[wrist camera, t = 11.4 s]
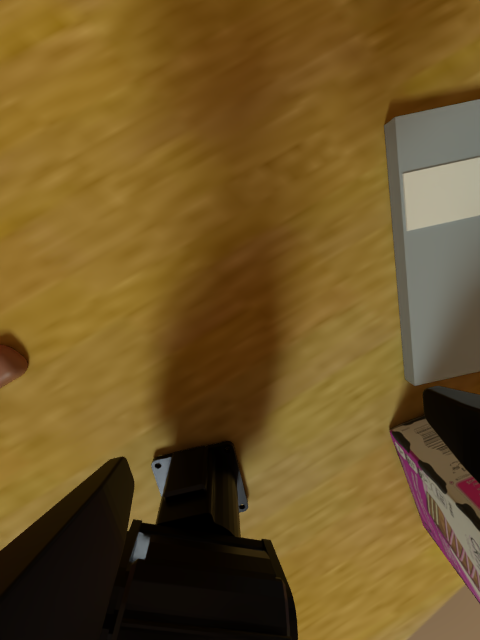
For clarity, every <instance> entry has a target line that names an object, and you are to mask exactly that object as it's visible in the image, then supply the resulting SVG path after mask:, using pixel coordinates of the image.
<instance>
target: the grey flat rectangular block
mask: <svg viewBox="0 0 480 640" xmlns="http://www.w3.org/2000/svg"><path fill="white" fill-rule="evenodd" d="M384 129H385V141H386V153H387V165H388V178H389V190H390V202H391V214H392V226H393V239H394V251H395V263H396V275H397V287H398V300H399V312H400V324H401V336H402V348H403V361H404V373H405V379H406V380H407V381H408V382H410V383H411V384H413V385H414V386H417V385H421V384H426V383H430V382H434V381H439V380H443V379H448V378H452V377H457V376H461V375H466V374H470V373H474V372H479V371H480V99H478V100H473V101H469V102H464V103H459V104H454V105H450V106H445V107H440V108H436V109H431V110H426V111H421V112H417V113H412V114H407V115H403V116H398V117H394V118H393V119H392V120H391V121H389V122H388V123H387V124H385V125H384Z"/></svg>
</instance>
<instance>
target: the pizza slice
mask: <svg viewBox="0 0 480 640" xmlns="http://www.w3.org/2000/svg"><path fill="white" fill-rule="evenodd" d="M27 367H28V364H27V361H26V359H25V358H24V357H23V356H22V355H21V354H19V353H18V352H17V351H15V350H14V349H12V348H10V347H8V346H5V345H1V344H0V388H1V387H3V386H5V385H7V384H8V383H10V382H12V381H13V380H15V379H17V378H18V377H20V376H21V375H23V374H24V373H25V372H26V370H27Z"/></svg>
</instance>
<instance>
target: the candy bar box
mask: <svg viewBox="0 0 480 640" xmlns="http://www.w3.org/2000/svg"><path fill="white" fill-rule="evenodd" d="M390 434H391V437H392V440H393V443H394V445H395V448H396V451H397V453H398V456H399V459H400V461H401V464H402V467H403V469H404V472H405V475H406V478H407V481H408V483H409V486H410V489H411V492H412V494H413V497H414V500H415V503H416V506H417V509H418V511H419V514H420V517H421V520H422V523H423V526H424V527H425V529H426V530H427V531H428V533H429V534H430V536H431V537H432V538H433V540H434V541H435V542H436V544H437V545H438V547H439V548H440V549H441V551H442V552H443V553H444V555H445V556H446V558H447V559H448V560H449V562H450V563H451V565H452V566H453V567H454V569H455V570H456V571H457V573H458V574H459V576H460V577H461V578H462V580H463V581H464V582H465V584H466V585H467V587H468V588H469V589H470V591H471V592H472V594H473V595H474V596H475V598H476V599H477V600H478V602H479V603H480V484H479V483H478V482H477V481H476V480H475V479H474V478H473V476H472V475H471V474H470V473H469V472H468V471H467V470H466V469H465V468H464V467H463V466H462V464H461V463H460V462H459V461H458V460H457V458H456V457H455V456H454V455H453V453H452V452H451V451H450V450H449V448H448V447H447V446H446V445H445V443H444V442H443V441H442V440H441V438H440V437H439V436H438V435H437V433H436V432H435V431H434V430H433V428H432V427H431V426H430V424H429V423H428V422H427V420H426V418H425V415H424V416H421V417H419V418H416V419H414V420H411V421H409V422H406V423H403V424H400V425H398V426H396V427H394V428H392V429H390Z"/></svg>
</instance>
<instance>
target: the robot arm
mask: <svg viewBox="0 0 480 640" xmlns="http://www.w3.org/2000/svg"><path fill="white" fill-rule="evenodd" d="M423 406H424V415H425V418H426V420H427V422H428V423H429V424H430V426H431V427H432V428H433V430H434V431H435V432H436V433H437V435H438V436H439V437H440V438H441V440H442V441H443V442H444V443H445V445H446V446H447V447H448V448H449V450H450V451H451V452H452V453H453V455H454V456H455V457H456V458H457V460H458V461H459V462H460V463H461V464H462V466H463V467H464V468H465V469H466V470H467V471H468V472H469V473H470V474H471V475H472V476H473V478H474V479H475V480H476V481H477V482H478V483H479V484H480V395H478V394H473V393H469V392H464V391H460V390H455V389H450V388H446V387H441V386H435V387H431V388H426V389H425V390H424V391H423ZM226 447H229V448H230V449H228V450H227V449H225V448H226ZM156 463H160V464H161V465H157V464H156ZM152 470H153V473H154V476H155V479H156V482H157V485H158V488H159V491H160V494H161V497H162V499H161V503H160V507H159V511H158V515H157V520H156V524H155V525H154V524H148V523H142V521H141V520H135V519H133V522H132V524H131V527H130V530H129V531H127V528H128V522H129V516H130V510H131V504H132V498H133V492H134V479H133V476H132V473H131V470H130V467H129V464H128V462H127V459H126V458H125V457H118V458H113V459H110V460H109V461H107V462H106V463H105V464H104V465H103V466H101V467H100V468H99V469H98V470H97V471H95V472H94V473H93V474H92V475H91V476H89V477H88V478H87V479H86V480H85V481H83V482H82V483H81V484H80V485H79V486H77V487H76V488H75V489H74V490H73V491H71V492H70V493H69V494H68V495H67V496H65V497H64V498H63V499H62V500H61V501H60V502H58V503H57V504H56V505H55V506H54V507H52V508H51V509H50V510H49V511H48V512H46V513H45V514H44V515H43V516H42V517H40V518H39V519H38V520H37V521H36V522H34V523H33V524H32V525H31V526H30V527H28V528H27V529H26V530H25V531H24V532H22V533H21V534H20V535H19V536H18V537H16V538H15V539H14V540H13V541H12V542H10V543H9V544H8V545H7V546H6V547H4V548H3V549H2V550H1V551H0V640H298V630H297V618H296V610H295V604H294V599H293V596H292V593H291V589H290V587H289V585H288V582H287V580H286V577H285V575H284V572H283V570H282V567H281V565H280V562H279V560H278V557H277V555H276V552H275V550H274V547H273V545H272V542H271V540H267V539H262V540H254V539H247V538H241V534H240V520H239V513H240V512H244V511H246V510H247V509H248V501H247V497H246V493H245V489H244V485H243V481H242V477H241V473H240V469H239V465H238V461H237V457H236V453H235V449H234V445H233V443H232V442H230V441H225V442H221V443H216V444H212V445H208V446H200V447H196V448H191V449H187V450H183V451H178V452H175V453H172V454H168V455H163V456H159V457H156V458H154V459H153V462H152ZM241 504H244V505H241Z"/></svg>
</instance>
